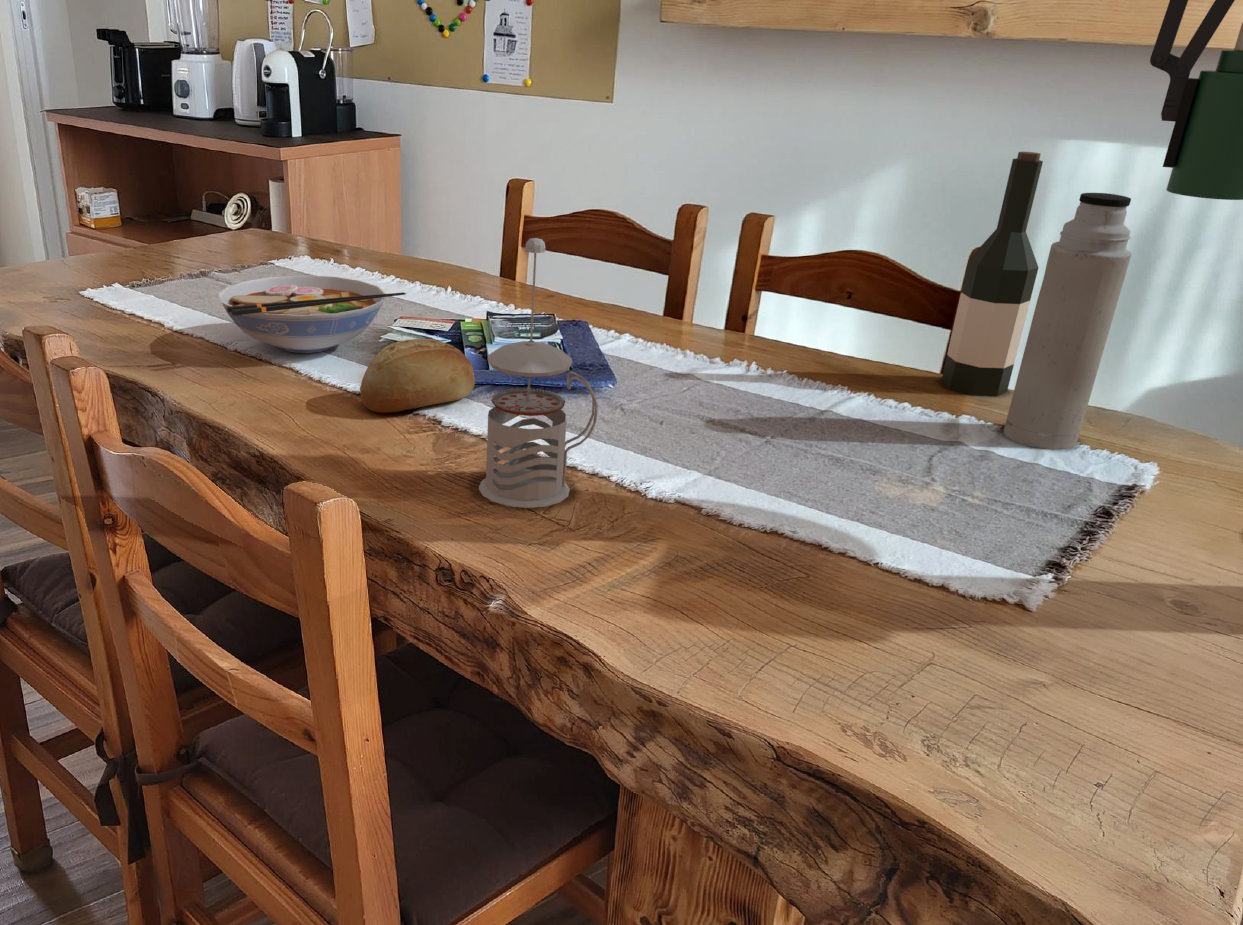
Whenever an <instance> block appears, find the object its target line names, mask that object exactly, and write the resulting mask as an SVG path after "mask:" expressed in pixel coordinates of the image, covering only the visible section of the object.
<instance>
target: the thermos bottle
mask: <svg viewBox="0 0 1243 925" xmlns="http://www.w3.org/2000/svg"><path fill="white" fill-rule="evenodd" d="M1078 200H1079V205H1078V206H1077V207H1076V211H1075V215H1074V218H1073V219H1071V220H1069V221H1066V222H1065V223H1064V224H1063V226H1062V230H1061V231H1060V232H1059V235H1060V238H1059V241H1056V242H1053V243H1051V245H1050V248H1049V253H1048V257H1047V261H1046V266H1045V270H1044V275H1043V279H1042V283H1041V286H1040V289H1039V293H1038V296H1037V300H1036V303H1035V308H1034V312H1033V316H1032V319H1031V322H1030V327H1029V332H1028V335H1027V338H1026V343H1025V346H1024V350H1023V354H1022V358H1021V363H1020V366H1019V370H1018V373H1017V378H1016V382H1015V385H1014V388H1013V393H1012V398H1011V401H1010V405H1009V409H1008V412H1007V416H1006V420H1005V424H1004V429H1003V434H1004V435H1005V437H1007V438H1008V439H1010V440H1012V441H1014V442H1016V443H1018V444H1022V445H1025V446H1029V447H1033V448H1037V449H1044V450H1056V451H1059V450H1060V451H1061V450H1069V449H1070V450H1071V449H1072V448H1075V447H1076V446H1077V445H1078V444H1077V443H1078V440H1079V437H1080V433H1081V430H1082V427H1083V423H1084V420H1085V416H1086V412H1087V409H1088V406H1089V402H1090V398H1091V396H1092V392H1093V388H1094V385H1095V382H1096V378H1097V375H1098V371H1099V369H1100V368H1099V367H1100V364H1101V361H1102V357H1103V354H1104V351H1105V347H1106V344H1107V340H1108V337H1109V333H1110V330H1111V326H1112V323H1113V320H1114V317H1115V313H1116V309H1117V306H1118V302H1119V299H1120V297H1121V292H1122V288H1123V285H1124V283H1125V282H1124V281H1125V278H1126V275H1127V271H1128V267H1129V266H1130V262H1131V258H1132V251H1130V250H1129V249H1127V246H1128V242H1129V240H1131V238H1132V237H1131V230H1130V229H1129V228H1128V227H1127V226H1126V225H1125V221H1126V216H1127V212H1128V211H1127V208H1128V207H1129V206H1130V205H1131V201H1132V198H1131V197H1129V196H1125V195H1121V194H1114V193H1106V192H1082V193H1080V196H1079V199H1078Z"/></svg>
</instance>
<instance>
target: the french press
mask: <svg viewBox="0 0 1243 925" xmlns="http://www.w3.org/2000/svg"><path fill="white" fill-rule="evenodd" d="M524 247H525V248H524V251H525V252H527V253H531V254H533V271H532V272H533V273H532V293H531V312H530V313H531V314H530V334H529V340H522V341H517V342H511V343H508V344H505V345H502V346H499V348H497V349H495V350H493V351H492V352H490V353H489V355H488V357H487V362H488V363H489V365H490V367H492V369H494V370H496V371H497V372H500V373H502V374H507V375H511V376H515V377H516V376H518V377H527V378H528V380H527V387H526V388H525V387H523V388H522V387H521V388H520V387H516V388H515V387H514V388H508V389H505V390H504V389H503V390H502V391H498V392H496V393H494V394H493V395H492V397H491V399H490V401H491V403H492V404H493V406H494V407H492V408H491V409H490V410H488V413H487V437H486V465H485V466H486V470H485V471H486V472H485V478H483V480H481V481H480V484H479V486H478V491H479V492H480V493H481V495H482V496H483V497H484V498H486V499H488V500H489V501H491V502H493V503H496V504H500V505H503V506H507V507H513V508H527V509H530V508H542V507H543V508H544V507H545V508H546V507H548V506H549V507H550V506H552V505H555V504H558V503H561V502H563V501H564V500H565V499H566V498H568V497H569V494H570V490H571V489H570V487H569V486H568V485H567V484H566V472H567V456H568V452H569V451H570V450H572V449H574V448H577V447H578V446H580V445H582V444H583V443H584V442H585V441H586V440H587V439H588V438H590V436H591V434H592V433H593V431H594V429H595V427H596V424H597V421H598V410H599V409H598V408H599V406H598V400H597V396H596V395H595V393H594V390H593V389H592V386H591V383H590V382H589V381H587V379H586V378H585V377H583V376H582V375H580V374H578V373H577V372H576V371H569V370H570V368H571V366H572V364H573V358H571V357H570V356H569V355H568V354H567V353H566V352H564V350H562V349H560V348H557V347H555V346H553V345H551V344H549V343H547V342H543V341H535V340H533V334H534V312H535V295H536V294H535V292H536V291H535V290H536V273H537V272H536V270H537V269H536V268H537V254H542V253H546V242H545V241H544V240H543V239H542V238H537V237H532V238H529V239H527V241H526V243H525V246H524ZM567 371H568V372H567ZM565 372H567V374H566V378H565V379H566V380H565V381H566V388H567V390H568V391H570V390H571V389H572V381H577V382H579V383H581V384H583V385H584V386H585V388H586V389H587V390H588V391H589V393H590V395H591V400H592V402H591V403H592V406H591V408H592V409H591V415H590V418H589V420H588V422H587V424H586V426H585V427H584V430H583V431H581V432H579V434H577V435H575V436H574V437H571V438H570V439H569V438H568V439H567V440H566V434H567V433H566V432H567V421H568V420H567V419H568V418H567V414H566V413H565V411H564V410H563V409H564V407H565V405H566V404H565V403H566V400H565V399H564V398H563V397H562V395H560V394H558V393H555V392H553V391H551V390H547V389H546V390H544V389H542V390H541V388H536V389H535V388H532V387H531V378H538V377H539V378H540V377H551V376H557V375H561V374H563V373H565ZM571 375H573V376H571ZM570 376H571V377H570ZM519 416H525V417H526V416H527V417H531V418H524V419H520V420H519V421H516V422H514V423H512V424H511V425H505V424H507V423H508V422H510V421H511V420H513V419H515V418H517V417H519ZM538 416H544V417H546V418H547V419H548V420H550V421H551V422H552V423H551V424H552V425H550V424H549V423H547V422H546V421H543V420H541V419H537V418H535V417H538ZM591 424H592V425H591ZM532 425H534V426H537V427H540V428H525V427H527V426H532ZM590 426H591V427H590ZM522 427H524V428H522ZM589 428H590V429H589ZM588 430H589V431H588ZM587 432H588V433H587ZM585 433H587V435H586V436H585V437H584V438H582V439H581V440H580V441H578V442H576V443H574V444H572V445H569V446H568V447H567V448H566V446H567V445H568V444H570V443H572V442H574V441H576V440H578V439H579V438H581V437H582V436H583V435H584V434H585ZM537 440H542V441H544V442H545V443H547V444H541V443H538V442H535V441H537ZM504 448H509V449H508V450H506V451H504V452H499V451H500V450H502V449H504ZM540 452H541V453H543V454H545V455H546V456H548V457H544V456H542V455H538V454H536V453H540ZM500 461H505V463H503V464H501V465H500V464H499V462H500Z"/></svg>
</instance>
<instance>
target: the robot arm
mask: <svg viewBox="0 0 1243 925" xmlns="http://www.w3.org/2000/svg"><path fill="white" fill-rule="evenodd" d="M1235 1H1236V0H1214V2H1213V3H1212V4H1211V7H1209V9H1208V11H1207V13H1206V15H1205V16H1204V18H1203V19H1202V21H1201V23H1200V24H1199V26H1198V27H1197V29H1196V31H1195V32H1194V34H1193V36H1192V37H1191V39H1190V41H1189V42H1188V44H1187V45H1186V46H1185V48H1184V49H1183V52H1182V53H1181V55H1180V56H1178V55H1175V54H1173V53H1171V52H1172V49H1173V46H1174V44H1175V40H1176V38H1177V35H1178V32H1179V29H1180V26H1181V23H1182V20H1183V17H1184V14H1185V12H1186V9H1187V6H1188V2H1189V0H1169V2H1168V4H1167V8H1166V11H1165V14H1164V16H1163V19H1162V22H1161V25H1160V28H1159V31H1158V34H1157V37H1156V40H1155V43H1154V46H1153V49H1152V51H1151V55H1150V58H1149V59H1150V60H1149V62H1150V65H1151V66H1152V67H1153V68H1156V69H1159V70H1160V71H1163V72H1166V74H1168V76H1169V83H1168V87H1167V90H1166V94H1165V98H1164V102H1163V105H1162V109H1161V112H1160V118H1161V121H1162V122H1174V125H1173V129H1172V132H1171V136H1170V139H1169V143H1168V146H1167V150H1166V153H1165V157H1164V160H1163V164H1162V168H1169V169H1170V168H1171V169H1172V168H1173V166H1174V163H1175V159H1176V156H1177V152H1178V149H1179V145H1180V142H1181V138H1182V135H1183V132H1184V128H1185V125H1186V121H1187V118H1188V114H1189V111H1190V107H1191V104H1192V101H1193V97H1194V94H1195V90H1196V87H1197V83H1198V80H1199V78H1195V77H1190V75H1191V72H1192V70H1193V69H1194V67H1195V65H1196V64H1197V62H1198V60H1199V59H1200V57H1201V55H1202V54H1203V52H1204V51H1205V49H1206V47H1207V46H1208V44H1209V43H1210V41H1211V39H1212V37H1213V35H1214V34H1215V33H1216V31H1217V30H1218V28H1219V26H1220V25H1221V23H1222V22H1223V20H1224V18H1225V17H1226V15H1227V14H1228V12H1229V11H1230V9H1231V7H1232V6H1233V4H1234V2H1235Z"/></svg>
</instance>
